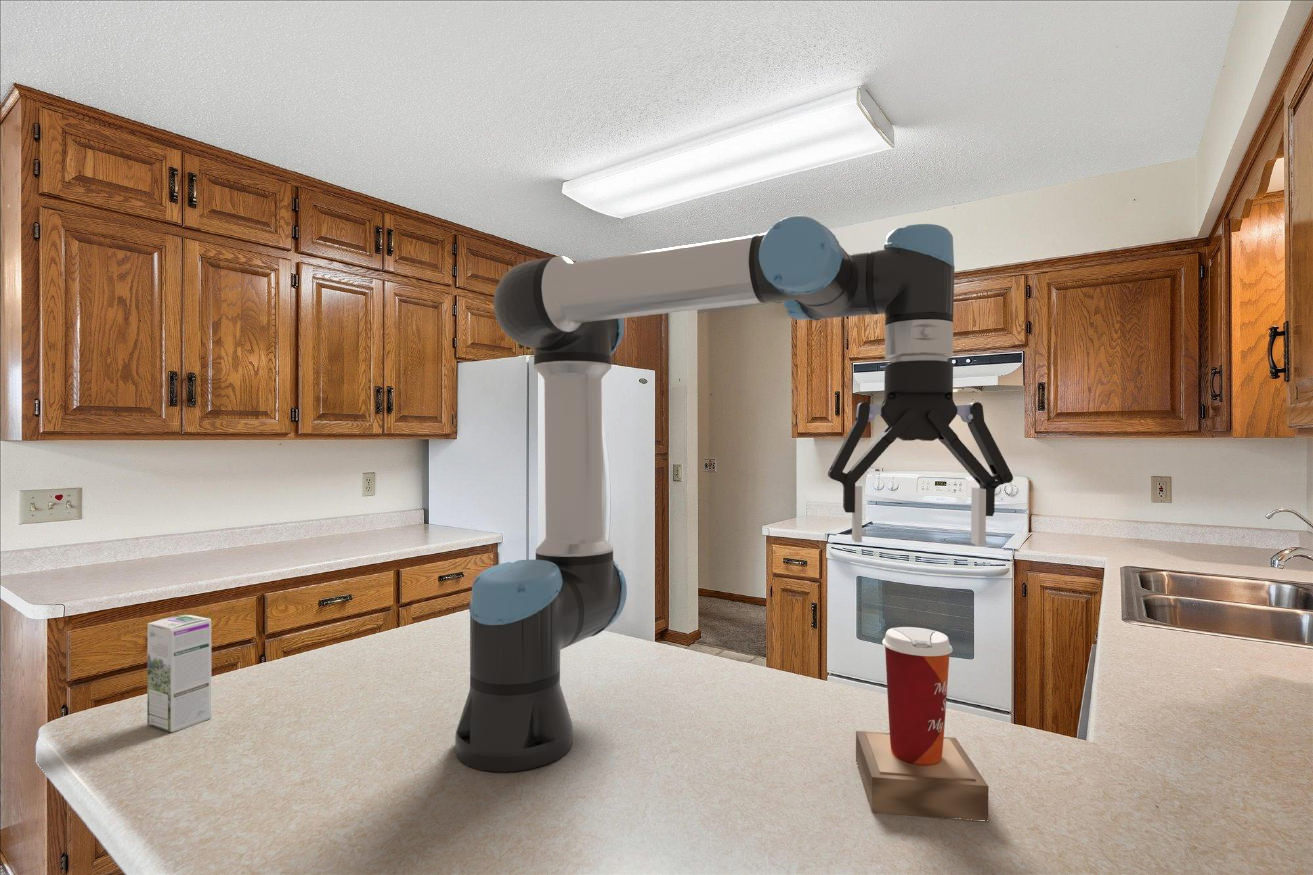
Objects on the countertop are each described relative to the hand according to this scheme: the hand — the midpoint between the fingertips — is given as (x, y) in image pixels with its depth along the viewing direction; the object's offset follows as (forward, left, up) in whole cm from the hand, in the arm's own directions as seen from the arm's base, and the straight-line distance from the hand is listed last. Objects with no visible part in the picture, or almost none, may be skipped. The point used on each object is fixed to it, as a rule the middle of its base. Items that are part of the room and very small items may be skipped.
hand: (916, 542), depth 79 cm
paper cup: (0, 0, -25) cm, 25 cm away
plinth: (0, 0, -29) cm, 29 cm away
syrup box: (-99, +2, -29) cm, 103 cm away
